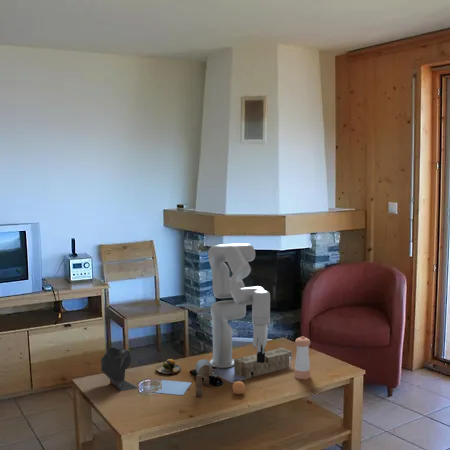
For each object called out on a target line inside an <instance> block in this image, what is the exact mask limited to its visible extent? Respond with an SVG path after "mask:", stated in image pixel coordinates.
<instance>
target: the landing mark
mask: <svg viewBox="0 0 450 450" xmlns="http://www.w3.org/2000/svg"><path fill="white" fill-rule="evenodd" d="M160 382H162V389H161V390H159V391H156V392H154V393H153V394H163V395H165V394H166V395H175V396H184V394H185V393H186V392H187V391H188V389H189V387H190V386H191V385H192V382H188V381H177V380H165V379H162V380H161V381H160Z"/></svg>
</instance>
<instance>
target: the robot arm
mask: <svg viewBox="0 0 450 450" xmlns="http://www.w3.org/2000/svg"><path fill="white" fill-rule="evenodd" d="M207 258H208V262H209V264H210V265H209V266H210V268H211V278H212V279H211V280H212V293H213V295H214V297H215V298H217V299H229V298H232V299H230V300H220V301H215V302H213V303H212V305H211V306H210V315H211V322H212V358H211V359H210V360H209V362H210V364H211V367H212V368H213V367H214V368H218V369H226V368H232V367H234V359H233V328H232V326H231V324H230V323H229V322H228V321H232V320H240V319H243V318H244V317H245V316H246V313H247V306H249V305H251V311H252V312H251V319H252V320H251V324H252V325H253V333H252V334H253V336H252V337H253V338H252V348H256V354H257V362H258V363H264V362H265V353H264V352H266V351H265V350H266V349H265V348H266V345H267V344H268V327H269V326H268V325H270V324H271V293H270V292H269V291H268V290H265V288H264V287H263V286H259V285H256V286H255V285H254V286H246V285H245V283H244V281H243V280H244V279H245V278H247V277H248V276H249V275H250V274H251V271H252V268H251V266H250V264H249V262H252V261H254V260H255V258H256V250H255V247H254V246H253V245H252V244H251V243H225V244H224V243H221V244H216V245H211V246H210V247H209V249H208V253H207ZM226 262H227V264H226ZM230 271H231V273H232V275H231V276H230Z"/></svg>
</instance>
